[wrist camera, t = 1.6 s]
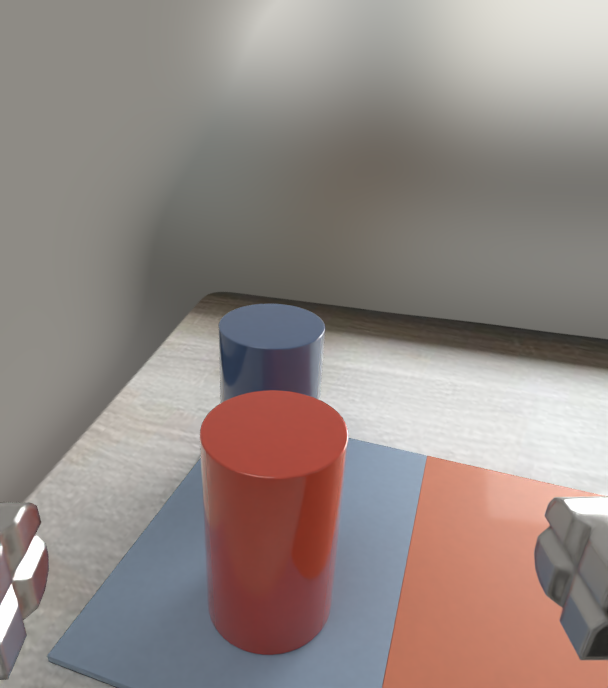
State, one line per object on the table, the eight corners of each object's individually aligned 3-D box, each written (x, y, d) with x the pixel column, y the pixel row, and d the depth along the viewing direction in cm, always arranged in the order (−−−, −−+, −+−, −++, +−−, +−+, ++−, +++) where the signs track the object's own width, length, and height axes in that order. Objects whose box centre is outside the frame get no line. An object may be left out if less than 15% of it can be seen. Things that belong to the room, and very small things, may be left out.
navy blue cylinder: (205, 482, 34) (199, 336, 30) (244, 428, 39) (244, 297, 35) (298, 507, 33) (307, 357, 28) (326, 447, 38) (337, 312, 33)
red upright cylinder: (184, 631, 25) (171, 455, 21) (238, 536, 31) (236, 379, 26) (310, 674, 24) (325, 494, 19) (344, 567, 29) (362, 405, 24)
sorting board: (48, 661, 24) (46, 655, 24) (235, 416, 41) (235, 412, 41) (733, 923, 18) (738, 917, 18) (619, 504, 35) (621, 499, 35)
